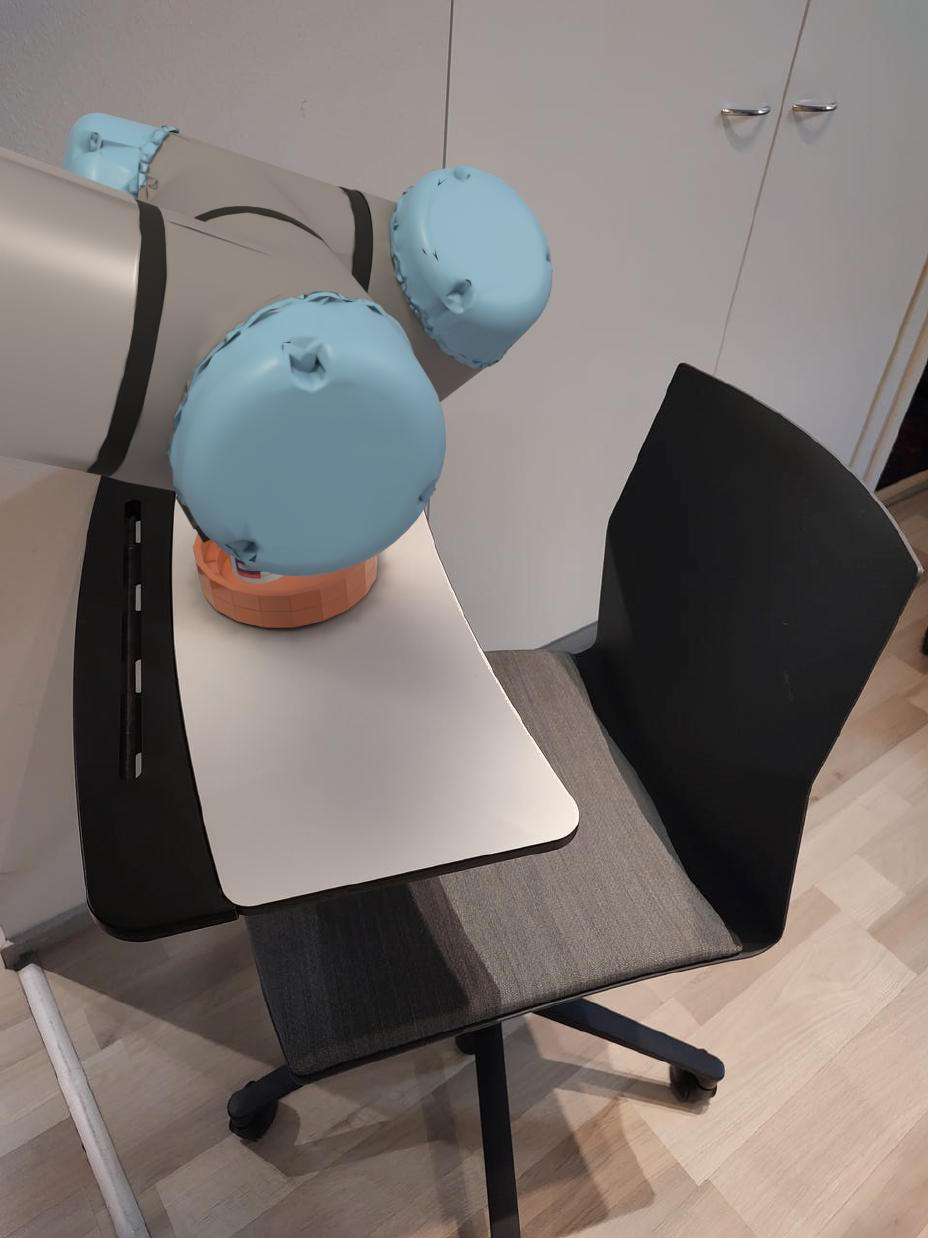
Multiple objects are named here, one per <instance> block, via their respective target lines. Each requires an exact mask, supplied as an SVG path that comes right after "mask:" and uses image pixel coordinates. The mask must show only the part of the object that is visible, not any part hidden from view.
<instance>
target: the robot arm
mask: <svg viewBox="0 0 928 1238" xmlns="http://www.w3.org/2000/svg"><path fill="white" fill-rule="evenodd" d="M68 133H69V134H68V136H67V139H66V143H65V144H66V145H65V150H64V154H63V160H62V165H61V167H58V166H55V165H52V164H49V163H46V162H44V161H41V160H39V159H36V158H33V157H30V156H27V155H26V154H25V155H24V154H21V153H19V152H16V151H13V150H11V149H8V148H5V147H2V146H0V457H5V458H11V459H15V460H16V459H17V460H21V461H27V462H31V463H37V464H42V465H47V466H53V467H58V468H63V469H68V470H74V471H79V472H83V473H86V474H91V475H97V476H101V477H107V478H110V479H114V480H118V481H121V482H125V483H129V484H134V485H139V486H146V487H151V488H156V489H163V490H167V491H172V492H175V495H176V496H175V500H176V501H177V503H178V505H179V506H180V508H181V510H182V511H183V513H184V515H185V517H186V518H187V520H188V522H189V524H190V526H191V528H192V529H193V530H195V531H196V532H197V533H198V534H199V536H200V538H201V540H202V541H203V543H204V542H207V541H209V540H212V541H213V542H214V543H215V544H216V545H218V546H219V547H220V548H221V549H222V550H223V551H225V552H226V553H228V554H230V555H231V556H233V557H235V558H236V559H238V560H240V561H243V562H244V563H245V564H246V565H247V566H249V567H252V568H254V569H257V570H259V571H264V572H268V573H272V574H276V575H284V576H315V575H322V574H327V573H331V572H335V571H340V570H343V569H346V568H350V567H353V566H356V565H358V564H360V563H362V562H364V561H366V560H369V559H370V558H372V557H374V556H376V555H377V556H378V555H379V554H381V553H383V552H384V551H385V550H387V549H388V548H389V547H391V546H392V545H393V544H394V543H396V542H397V541H398V540H399V539H400V538H401V537H402V536H403V535H404V534H406V533H407V532H408V531H409V530H410V529H411V527H413V525H414V524H415V523H416V521H417V520H418V519H419V518H420V516H421V514H422V513H423V512H424V511H425V508H426V507H427V506H428V503H429V501H430V498H432V496H433V495H434V493H435V491H436V490H437V488H436V484H437V483H438V481H439V479H440V478H441V475H442V471H443V468H444V465H445V464H444V463H445V457H446V451H447V432H446V424H445V423H446V421H445V416H444V411H443V407H442V405H441V403H442V402H443V401H445V399H447V398H448V397H450V396H451V395H452V394H453V393H454V392H456V391H457V390H459V388H461V387H462V386H464V385H465V384H466V383H467V382H469V381H470V380H471V379H473V378H474V377H475V376H477V375H478V374H479V373H481V372H482V371H483V370H485V369H486V368H490V367H493V366H494V365H496V364H497V363H499V362H500V361H501V360H502V359H503V358H504V356H505V355H506V354H507V352H508V351H509V350H510V349H511V348H512V347H513V346H514V345H515V344H516V343H517V342H518V341H520V339H521V338H522V337H523V336H524V335H525V334H526V333H527V332H528V331H529V330H530V328H531V327H532V326H533V325H534V324H535V323H536V322H537V321H538V320H539V318H540V317H541V316H542V314H543V313H544V311H545V309H546V307H547V305H548V302H549V300H550V296H551V292H552V288H553V271H554V270H553V266H552V255H551V249H550V246H549V242H548V240H547V237H546V233H545V231H544V229H543V227H542V225H541V223H540V221H539V219H538V218H537V216H536V214H535V213H534V211H533V210H532V209H531V207H530V205H529V204H528V203H527V202H526V201H525V200H524V198H523V197H521V195H520V194H519V193H518V192H517V191H516V190H515V189H514V188H513V187H511V186H510V185H509V184H508V183H506V182H505V181H504V180H503V179H501V178H499V177H498V176H495V175H494V174H492V173H490V172H487V171H485V170H483V169H481V168H478V167H474V166H468V165H459V166H454V167H446V168H445V167H444V168H440V169H434V170H432V171H430V172H429V173H428V174H426V175H424V176H423V177H421V178H420V179H419V180H418V181H417V182H416V183H415V185H411V186H408V187H407V188H406V190H405V191H402V195H401V197H400V198H398V199H397V202H396V201H394V200H393V201H392V200H389V199H387V198H383V197H380V196H378V195H375V194H372V193H368V192H365V191H362V190H358V189H355V188H354V189H350V188H346V187H345V186H341V185H340V186H337V185H334V184H332V183H328V182H326V181H322V180H319V179H316V178H314V177H311V176H308V175H305V174H301V173H298V172H295V171H292V170H289V169H287V168H283V167H280V166H278V165H275V164H272V163H268V162H265V161H262V160H260V159H257V158H253V157H250V156H248V155H244V154H241V153H238V152H235V151H233V150H229V149H226V148H223V147H220V146H218V145H215V144H212V143H208V142H205V141H203V140H199V139H197V138H194V137H191V136H187V135H185V134H182V133H180V129H179V128H176V127H173V126H170V125H162V126H159V127H157V126H153V125H149V124H146V123H141V122H138V121H134V120H131V119H126V118H123V117H121V116H120V117H119V116H116V115H111V114H108V113H104V112H91V113H90V112H89V113H87V114H84V115H83V116H81V117H79V119H77V120H76V121H75V122H74V124H73V125H72V127H71V129H70V131H69V132H68ZM197 533H196V534H197Z"/></svg>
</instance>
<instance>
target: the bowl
mask: <svg viewBox="0 0 928 1238" xmlns="http://www.w3.org/2000/svg"><path fill="white" fill-rule="evenodd" d="M192 550H193V554H194V559H195V565H196V568H197V574H198V577H199V581H200V586H201V591H202V594H203V597H205V599H206V600H207V601H208V602H209V604H211V606H212V607H213V608H214V609H215V610H216V611H217V612H219V613H221V614H223V615H225V616H227V617H228V618H230V619H232V620H234V621H235V622H238V623H243V624H248V625H252V626H255V627H256V626H257V627H261V628H297V627H303V626H306V625H312V624H316V623H322V622H324V621H326V620H329V619H331V618H333V617H336V616H338V615H339V614H342V613H344V612H347V611H348V610H349V609H351V608H352V607H354V606H355V605H356V604H357V603H358V602H359V601H361V600H362V599H363V598H365V597H366V596H367V594H368V593H369V591H370V589H371V588H372V586H373V584H374V582H375V581H376V579H377V573H378V554H377V555H376V556H374V557H372V558H370V559H369V560H366V561H364V562H362V563H360V564H358V565H356V566H353V567H350V568H346V569H343V570H340V571H335V572H331V573H327V574H322V575H315V576H282V577H281V578H279V579H277V580H275V581H272V582H268V583H262V584H255V583H248V582H245V581H243V580H241V579H239V578H238V577H237V576H236V575H235V574H234V573H233V570H232V567H231V563H230V558H229V554H228V553H226V552H225V551H223V550H222V549H221V548H220V547H219V546H218V545H216V544H215V543H214V542H213V541H212V540H209V541H207V542H204V543H203V541H202V540H201V538H200V536H199V534H198V533H196V537H195V539H194V542H193V545H192Z"/></svg>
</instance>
